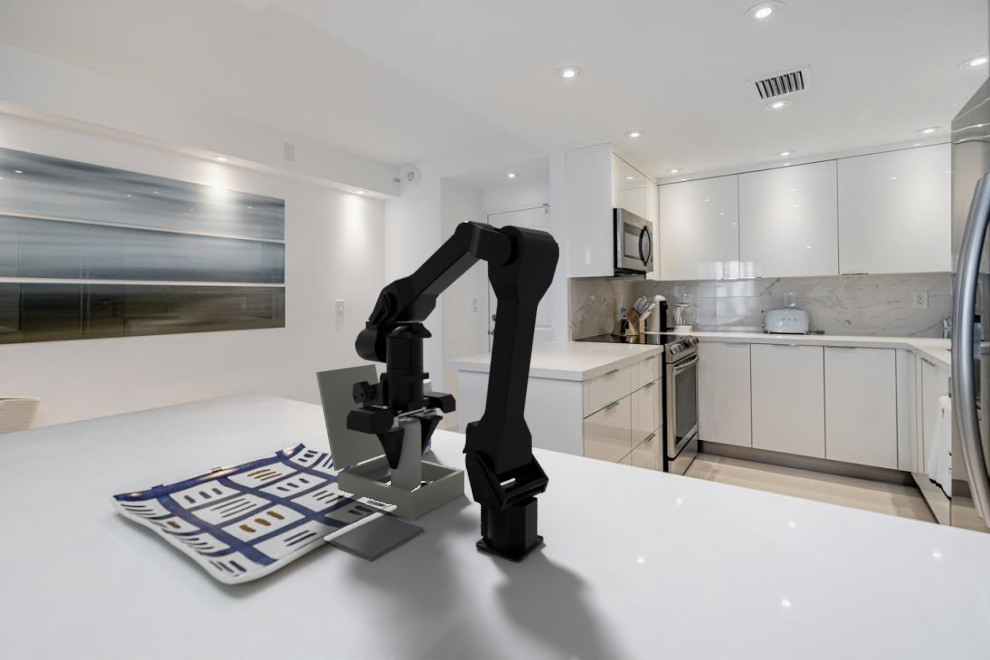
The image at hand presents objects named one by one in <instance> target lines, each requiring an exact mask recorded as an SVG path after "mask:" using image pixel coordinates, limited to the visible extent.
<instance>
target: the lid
mask: <svg viewBox="0 0 990 660" xmlns="http://www.w3.org/2000/svg"><path fill="white" fill-rule="evenodd" d="M378 377H379V376H378V372H377V366H376V364H375V363H373V364H367V365H358V366H352V367H351V366H350V367H343V368H337V369H336V368H335V369H329V370H322V371H317V372H316V379H317V385H318V390H319V395H320V401H321V406H322V411H323V416H324V423H325V428H326V434H327V437H328V443H329V444H328V445H329V449H330V454H331V460H332V465H333V472H337V471H339V470H340V471H341V470H343V469H346V468H349V467H350V466H352V465H355V464H358V465H359V464H362V463H364V462H365V461H366V462H367V461H368V460H373V459H374V458H375V459H376V458H379V457H380V456H381V457H382V456H383V455H384V456H385V452H384V449H383V447H382V445H381V443H380V441H379V439H378V437H377V436H376V435H375V434H367V433H363V432H358V431H354V430H349V429H347V415H348V413H349V412H350V411H351V410H353V409H357V408H361V407H363V403H358V404H356V403H355V402H354V399H353V395H352V393H353V384H355V383H358V382H363V381H368V383H369V384H370V385H373V384H377V383H379V382H380V380H379V378H378ZM373 407H379V408H384V406H383V407H382V406H377V405H373Z"/></svg>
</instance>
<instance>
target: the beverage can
mask: <svg viewBox="0 0 990 660" xmlns="http://www.w3.org/2000/svg"><path fill="white" fill-rule="evenodd" d="M399 427H402V428H405V432H404V438H403V444H402V449H401V455H400V461H399V464H398V468H397V469H396V470H394V469H391V486H394V487H397V488H401V489H404V490H407V491H412V490H414V489H415V488H417V487H418V486H419V485H420V484H421V485H422V483H421V460H422V457H421V424H420V420H419V419H417V418H399Z"/></svg>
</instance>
